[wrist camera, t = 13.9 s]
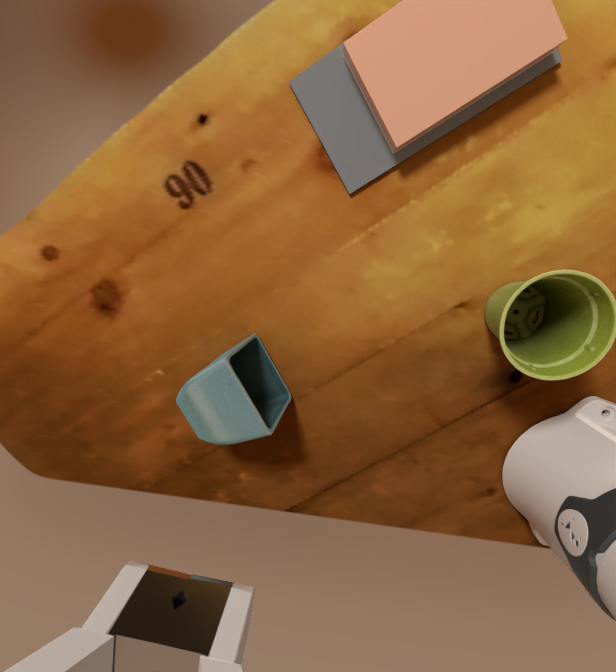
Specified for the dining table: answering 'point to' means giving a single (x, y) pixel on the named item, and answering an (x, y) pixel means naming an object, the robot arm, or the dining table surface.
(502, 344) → the plant pot
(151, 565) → the robot arm
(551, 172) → the dining table surface
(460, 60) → the tile
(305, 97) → the mat
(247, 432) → the flower pot
